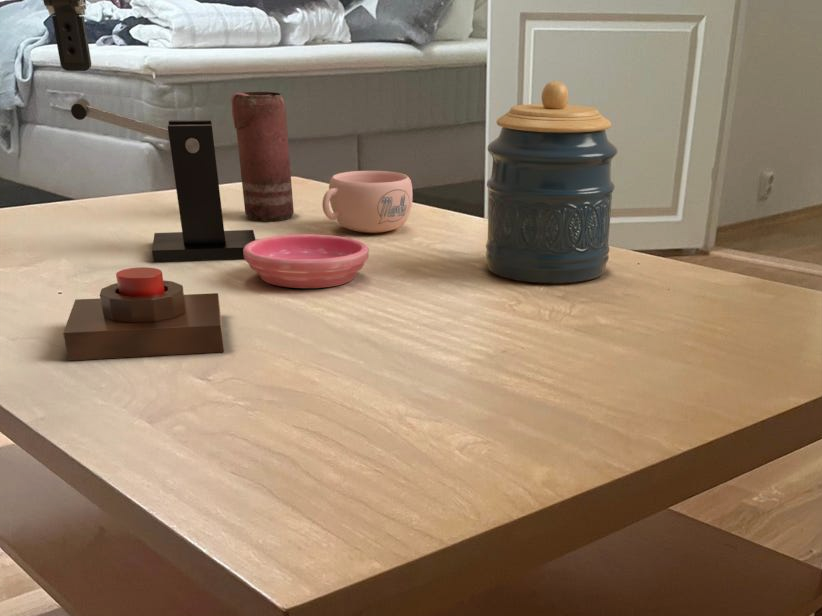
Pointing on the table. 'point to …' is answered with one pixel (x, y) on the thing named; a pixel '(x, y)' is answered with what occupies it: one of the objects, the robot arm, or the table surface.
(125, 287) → the button
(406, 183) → the mug
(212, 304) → the control block
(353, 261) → the pink bowl
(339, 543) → the table surface
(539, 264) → the canister
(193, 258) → the bracket
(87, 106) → the lever
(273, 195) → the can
